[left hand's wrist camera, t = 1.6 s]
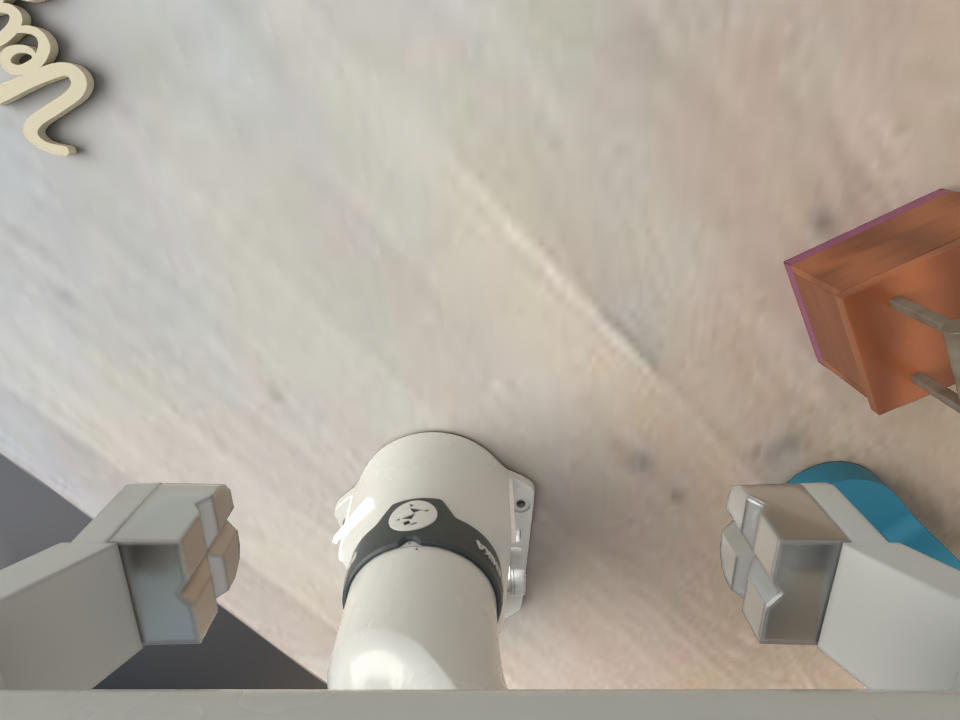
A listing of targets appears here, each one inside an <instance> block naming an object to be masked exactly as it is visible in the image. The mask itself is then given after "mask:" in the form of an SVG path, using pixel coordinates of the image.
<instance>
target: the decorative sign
mask: <svg viewBox="0 0 960 720" xmlns="http://www.w3.org/2000/svg"><path fill="white" fill-rule="evenodd" d="M14 1H16V0H0V16H3V15H7V14H8V15H9V16H10V18H9V22H8V23H7V25H6V26H5V27H4V28H3V29H2V30H1V31H0V51H2V52H1V55H0V62H1V65H2V67H3V69H4V70H5V71H6V72H8V73H10V74H13V75H21V76H19V77H16V78H14V79H11V80H9V81H6V82H4V83H2V84H0V105H7V104H10V103H12V102H14V101H16V100H18V99H20V98H22V97H24V96H26V95H28V94H29V93H31V92H33V91H35V90H37V89H39V88H42V87H44V86H46V85H49V84H51V83H54V82H56V81H59V80H62V79H64V78H67V77H69V78H70V80H71V85H70V87H69V89H68V90H67V91H66V92H65V93H63V94H62V95H61V96H60V97H58V98H57V99H55V100H53V101H52V102H50V103H49V104H47V105H45V106H44V107H43V108H41V109H40V110H38V111H37V112H35V113H34V114H32V115H31V116H30V117H29V118H28V119H27V120H26V121H25V123H24V126H23V132H24V135H25V137H26V139H27V140H28V141H29V142H31V143H32V144H33V145H35V146H36V147H38V148H40V149H42V150H44V151H46V152H49V153H52V154H56V155H62V156H69V155H75V154H76V152H77V150H76V148H75V147H74V146H72V145H67V144H62V143H58V142H55V141H53V140H51V139H50V138H49V137H48V136H47V135H46V129H47V127H48V126H49V125H50V124H51V123H53V122H54V121H56V120H57V119H59V118H61V117H62V116H64V115H65V114H67V113H68V112H70V111H71V110H73V109H74V108H76V107H77V106H79V105H80V104H82V103H83V102H85V101H86V100H87V99H88V98H89V97H90V95H91V94H92V92H93V89H94V79H93V77H92V75H91V74H90V72H89V71H88V70H87V69H86V68H84V67H83V66H81V65H79V64H75V63H66V62H57V63H54V61H55V59H56V57H57V55H58V51H59V48H58V43H57V41H56V39H55V38H54V36H53V35H52V34H51V33H50V32H49V31H47V30H45V29H43V28H40V27H35V26H31V17H30V15H29V13H28V12H27V11H26V10H25V9H23V8H22V7H20V6H17V5H13V4H12V3H13V2H14ZM23 1H27V2H32V3H40V2H45V1H47V0H23ZM27 34H31V35H33V36H35V37H36V38H37V40H38V48H37V47H34V46H27V45H15V44H16V43H18V42H19V41H20V40H21V39H22V38H23V37H24V36H25V35H27ZM26 54H29V55H31V56H32V58H31V59H30V60H29V61H27V62H25V63H23V64H21V63H20V59H21V58H22V57H23V56H24V55H26Z"/></svg>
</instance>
